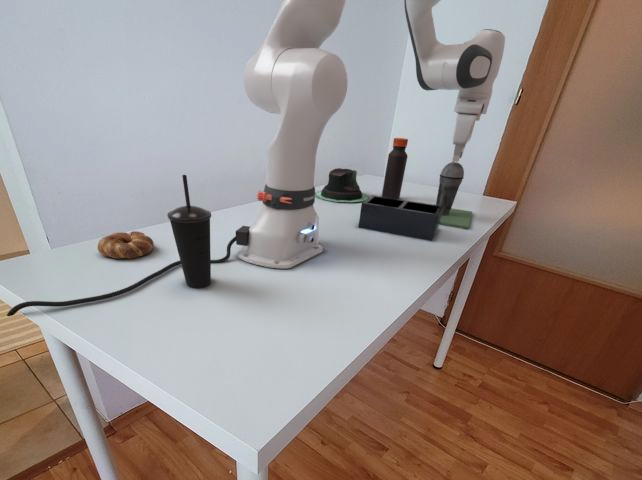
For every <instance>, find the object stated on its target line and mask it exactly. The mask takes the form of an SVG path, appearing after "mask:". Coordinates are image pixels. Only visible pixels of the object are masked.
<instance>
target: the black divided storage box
mask: <svg viewBox="0 0 642 480" xmlns="http://www.w3.org/2000/svg"><path fill="white" fill-rule="evenodd" d="M360 206H361V207H360V214H359V219H358V226H357V227H358V229H363V230H369V231H375V232H380V233H386V234H391V235H396V236H402V237H407V238H413V239H418V240H424V241H428V242H433V240H434V238H435V236H436V234H437V233H438V230H439V227H440V224H439V223H440V219H441V216H442V212H443V208H444V206H440V205H436V204H432V203H427V202H420V201H413V200H406V199H400V198H399V199H394V198H387V197H382V195H381V196H380V195H371V196H368V199H366V200H364V201H362V202H361V205H360Z"/></svg>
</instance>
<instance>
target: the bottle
mask: <svg viewBox="0 0 642 480" xmlns="http://www.w3.org/2000/svg"><path fill="white" fill-rule="evenodd" d="M408 141H409V139H408V138H404V137H394V138H393V142H392V150H391V151H390V152H389V153H388V155H387V160H386V161H387V162H386V168H385V173H384V179H383V185H382V191H381V197H387V198H394V199H400V197H401V194H402V193H401V192H402V188H403V183H404V182H403V181H404V177H405V171H406V168H407V167H406V166H407V162H408V153H407V152H406V149H407V147H408Z"/></svg>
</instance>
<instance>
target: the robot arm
mask: <svg viewBox="0 0 642 480" xmlns="http://www.w3.org/2000/svg"><path fill="white" fill-rule="evenodd" d="M346 1H347V0H282V2H281V5H280V7H279V10H278V12H277V15H276V17H275V19H274V21H273V23H272V25H271V27H270V29H269V31H268V33H267V35H266V36H265V39H264V41H263V43H262V44H261V46H260V47H259V49H258V50H257V51H256V53H255V54H254V55H253V56H251V58H250V59H249V60H248V61H247V63H246V66H245V69H244V73H243V85H244V90H245V93H246V95H247V98H248V99H249V101H250V102H251V103H252V104H253V105H254V106H256V107H257V108H260V109H261V110H262V111H265V112H267V113H270V114H276V115H280V120H279V124H278V127H277V128H278V129H277V131H276V134H275V136H274V138H273V139H272V140H271V141H269V143H268V144H267V147H266V150H265V165H266V166H265V169H266V170H265V172H266V175H265V176H266V177H265V178H266V184H265V185H264V189H263V191H262V190H259V191H258V192H257V193H256V199H257V201H258V202H262V205H261V207H260V209H259V211H258V212H257V214H256V216H255V218H254V219H253V222H252V223H251V224H250V225H249V226H248V225H242V226H240V227H239V228H237V229H236V230H235V236H234V237H232V238H231V240H230V241H229V242H228V244H227V245H226V254H225V256H224V257H222V258H219V259H211V264H221V263H224V262H226V261H228V260H229V259H230V258H231V253H232V252H231V249H232V246H233V244H234V243H235V244H236V245H237V246H243V247H242V248H241V249H240V250H238V252H237V258H238V259H240V260H241V261H244V262H246V263H249V264H252V265H256V266H261V267H265V268H271V269H272V268H273V269H281V270H282V269H291V268H294V267H295V266H297V265H299V264H301V263H303V262H305V261H307V260H309V259H311V258H313V257H315V256H318V255H319V254H321V253H323V252H324V247H323V245H321V244H320V243H319V237H320V236H319V227H320V226H319V222H320V221H319V219H320V218H319V215H318V213H317V211H316V209H315V207H314V204H315V201H316V200H315V199H316V187H315V186H314V184H315V171H316V160H317V152H318V148H319V144H320V141H321V137H322V135H323V132H324V130H325V128H326V126H327V124H328V122H329V121H330V119H331V118H332V117H333V116H334V115H335V114H336V113H337V112H338V111H339V110H340V109H341V107H342V105H343V103H344V102H345V99H346V96H347V92H348V84H349V83H348V81H349V80H348V73H347V69H346V66H345V64H344V62H343V60H342V59H341V57H340V56H339V55H337V54H335V53H333V52H330V51H328V50H325V49H321V46H322V45H323V43H324V42H326V40H328V38H330V37H331V36H332V35H333V34H334V32H335V31H336V29H337V28H338V26H339V24H340V22H341V18H342V15H343V11H344V8H345V4H346ZM403 1H404V2H403V3H404V14H405V20H406V24H407V28H408V33H409V38H410V41H411V45H412V50H413V53H414V59H415V72H416V73H415V74H416V80H417V83H418V84H419V85H418V86H420V88H421V89H423V90H424V91H427V92H428V91H437V90H444V91H445V90H446V91H458V94H457V98H456V102H455V105H454V108H453V112H455V113H456V114H457V115H456V119H455V124H454V131H453V136H452V144H453V145H454V149H455V150H453V155H454V156H453V157H452V162H456V163H459V162H460V159H461V158H462V157H463V154H464V151H465V148H466V145H467V144H468V143H469V142H470V140H471V139H472V135H473V132H474V127H475V124H476V121H478V122H479V121H480V119H481V116H482V115H486V114H487V112H488V108H489V104H490V102H491V98H492V96H493V95H492V94H493V87H494V83H495V81H496V78H497V77H498V74H499V71H500V68H501V64H502V60H503V56H504V51H505V44H506V37H505V34H504V33H502V32H501V31H499V30H497V29H492V28H485V29H484V28H483V29H481V30H478V31H477V32H476V34H475V35H474V36H473V38H471V39H469V40H467V41H465V42H463V43H457V44H444V43H441V42H440V41H439V40H438V39H437V34H436V27H435V23H434V18H433V8H434V7H435V6H436V5H437V4H439V2H440V1H441V0H403ZM180 265H181V261H180V260H176V261H174V262H172V263H170V264H168V265H166V266H164V267H163V268H161V269H159V270H158V271H155V272H154V273H151V274H150V275H148V276H146V277H144V278H142V279H141V280H139V281H137V282H135V283H133V284H131V285H129V286H126V287H123V288H121V289H118V290H116V291H113V292H108V293H105V294H100V295H95V296H90V297H84V298H77V299H70V300H65V301H47V300H46V301H45V300H30V301H24V302H20V303H18V304H16V305H15V306H13V307H12V308H10V309H9V311H8V312H7V314H6V317H12V316H14V315H15V314H16V313H17V312H19V311H21V310H22V309H25V308H29V307H56V308H57V307H59V308H60V307H69V306H75V305H76V306H77V305H81V304H87V303H88V304H89V303H93V302H98V301H103V300H104V301H105V300H108V299H111V298H114V297H118V296H121V295H124V294H127V293H129V292H131V291H133V290H135V289H137V288H139V287H141V286H142V285H144V284H147V282H149V281H151V280H153V279H155V278H157V277H158V276H161V275H163V274H164V273H166V272H167V271H169V270H171V269H173V268H175V267H177V266H180Z"/></svg>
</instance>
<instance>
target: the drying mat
mask: <svg viewBox="0 0 642 480" xmlns="http://www.w3.org/2000/svg"><path fill="white" fill-rule="evenodd" d="M472 215H473V211H471V210H465V209H458V208H452V207H451V210H450V212H449V215H447V216H441V219H440V223H439V226H440V225H441V226H446V227H453V228H459V229H463V230H464V229H465V230H469V226H470V223H471V218H472Z"/></svg>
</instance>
